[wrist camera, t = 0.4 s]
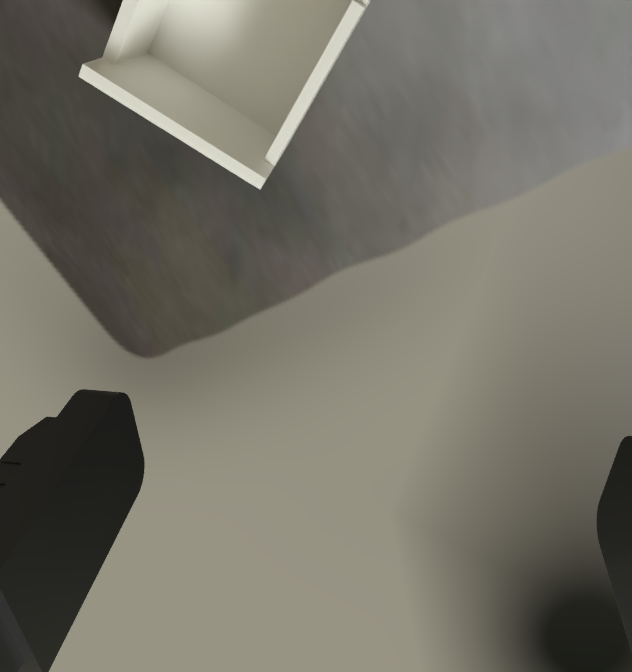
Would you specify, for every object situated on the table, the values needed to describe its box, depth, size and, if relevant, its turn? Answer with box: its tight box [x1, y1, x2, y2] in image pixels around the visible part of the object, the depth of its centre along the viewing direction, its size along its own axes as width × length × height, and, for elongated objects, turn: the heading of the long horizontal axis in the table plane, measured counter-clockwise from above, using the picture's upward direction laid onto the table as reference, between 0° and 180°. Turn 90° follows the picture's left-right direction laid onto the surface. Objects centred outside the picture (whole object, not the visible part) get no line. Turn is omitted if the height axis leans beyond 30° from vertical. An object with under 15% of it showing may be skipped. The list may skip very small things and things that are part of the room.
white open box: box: [79, 0, 371, 189], centre depth 28 cm, size 9×9×7 cm
